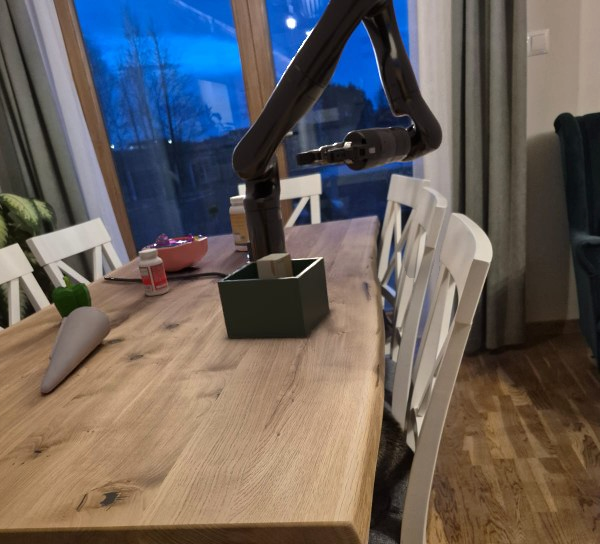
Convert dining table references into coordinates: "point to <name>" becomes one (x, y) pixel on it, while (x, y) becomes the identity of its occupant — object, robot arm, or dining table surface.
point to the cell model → (180, 251)
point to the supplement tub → (239, 223)
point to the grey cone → (74, 343)
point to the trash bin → (274, 301)
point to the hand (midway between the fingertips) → (312, 158)
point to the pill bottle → (152, 273)
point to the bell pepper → (71, 297)
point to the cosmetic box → (275, 266)
